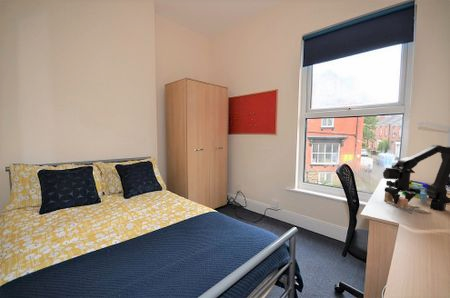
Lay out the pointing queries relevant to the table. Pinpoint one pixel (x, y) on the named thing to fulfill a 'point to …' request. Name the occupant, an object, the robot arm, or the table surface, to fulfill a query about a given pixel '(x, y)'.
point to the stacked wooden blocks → (389, 199)
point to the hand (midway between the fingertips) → (400, 203)
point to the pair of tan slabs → (419, 209)
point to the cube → (402, 201)
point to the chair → (421, 192)
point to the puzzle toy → (419, 185)
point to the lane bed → (409, 208)
